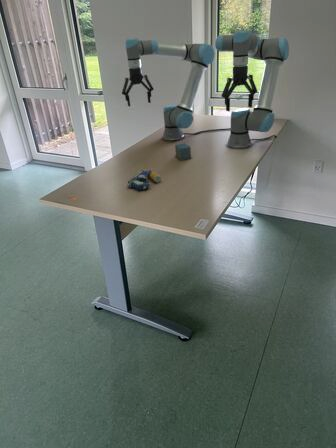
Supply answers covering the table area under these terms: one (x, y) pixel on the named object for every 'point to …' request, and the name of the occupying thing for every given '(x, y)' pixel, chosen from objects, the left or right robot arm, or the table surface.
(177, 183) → the table surface
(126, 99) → the left robot arm
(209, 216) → the table surface
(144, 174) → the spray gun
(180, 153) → the brick
